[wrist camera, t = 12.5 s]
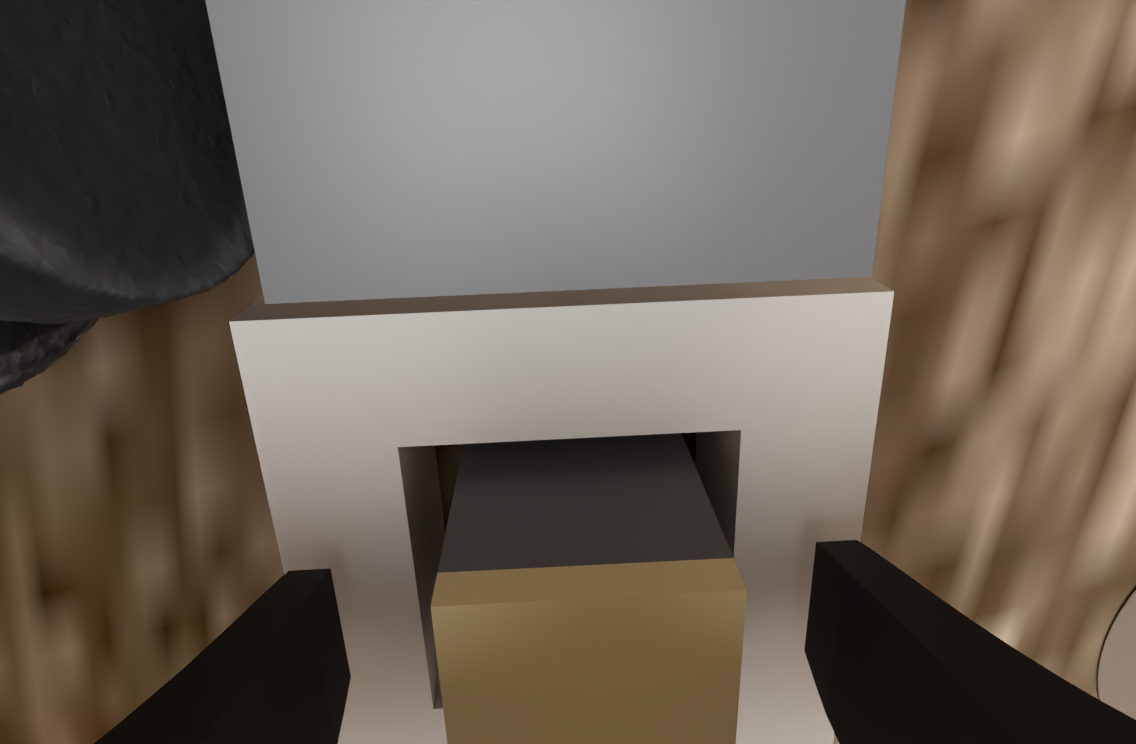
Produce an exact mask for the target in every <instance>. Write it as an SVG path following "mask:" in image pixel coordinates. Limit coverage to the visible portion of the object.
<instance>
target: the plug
mask: <svg viewBox="0 0 1136 744" xmlns="http://www.w3.org/2000/svg"><path fill="white" fill-rule="evenodd" d="M746 596H747V590H746V587H745V585H744V582H743V580H742V578H741V575H740V573H739V570H738V568H737V566H736V563H735V561H734V558H733V556H732V554H731V551H730V549H729V546H728V544H727V541H726V539H725V537H724V534H723V532H722V529H721V527H720V525H719V522H718V520H717V517H716V515H715V513H714V510H713V508H712V505H711V503H710V500H709V498H708V496H707V493H706V491H705V488H704V486H703V484H702V481H701V479H700V476H699V474H698V472H697V469H696V467H695V464H694V462H693V459H692V457H691V455H690V452H689V450H688V447H687V445H686V443H685V440H684V438H683V435H682V433H672V434H652V435H632V436H612V437H592V438H572V439H552V440H532V441H512V442H492V443H472V444H463V449H462V454H461V459H460V463H459V468H458V473H457V478H456V483H455V488H454V493H453V498H452V503H451V508H450V513H449V518H448V523H447V528H446V533H445V538H444V543H443V548H442V553H441V558H440V562H439V567H438V572H437V577H436V582H435V587H434V592H433V597H432V602H431V615H432V623H433V631H434V639H435V647H436V655H437V663H438V671H439V680H440V688H441V696H442V704H443V712H444V720H445V728H446V736H447V744H736V732H737V718H738V705H739V691H740V678H741V664H742V650H743V637H744V623H745V609H746Z"/></svg>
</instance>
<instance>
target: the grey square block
mask: <svg viewBox="0 0 1136 744" xmlns="http://www.w3.org/2000/svg"><path fill="white" fill-rule="evenodd" d="M205 1H206V6H207V11H208V16H209V21H210V26H211V32H212V37H213V42H214V47H215V52H216V57H217V62H218V67H219V72H220V77H221V82H222V87H223V93H224V98H225V103H226V108H227V113H228V118H229V123H230V128H231V133H232V138H233V143H234V149H235V154H236V159H237V164H238V169H239V174H240V179H241V184H242V189H243V194H244V199H245V204H246V210H247V215H248V220H249V225H250V230H251V235H252V240H253V245H254V250H255V255H256V260H257V265H258V271H259V276H260V281H261V286H262V291H263V296H264V301H265V304H278V303H300V302H322V301H344V300H367V299H389V298H411V297H433V296H456V295H478V294H500V293H522V292H544V291H567V290H589V289H611V288H633V287H656V286H678V285H700V284H722V283H745V282H767V281H789V280H811V279H834V278H856V277H872V272H873V264H874V256H875V248H876V240H877V232H878V224H879V215H880V207H881V199H882V191H883V183H884V175H885V167H886V158H887V150H888V142H889V134H890V126H891V118H892V109H893V101H894V93H895V85H896V77H897V69H898V61H899V52H900V44H901V36H902V28H903V20H904V12H905V3H906V0H205Z"/></svg>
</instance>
